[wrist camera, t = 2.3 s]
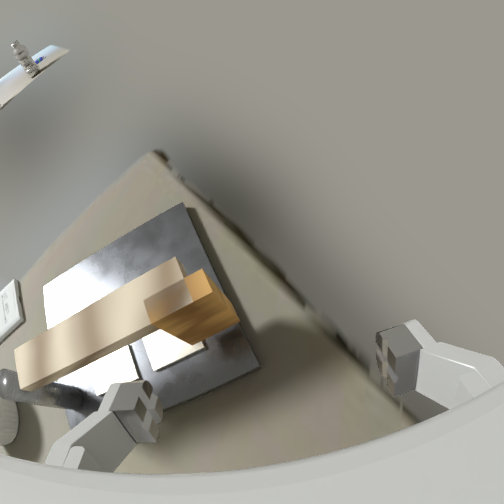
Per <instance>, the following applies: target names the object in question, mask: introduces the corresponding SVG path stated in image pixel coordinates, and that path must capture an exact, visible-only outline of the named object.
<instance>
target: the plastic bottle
mask: <svg viewBox="0 0 504 504" xmlns="http://www.w3.org/2000/svg"><path fill="white" fill-rule="evenodd" d="M11 47H12V49H13V56H14V57H15V58H16V59H17V60H18V61H19V63H20V64H21V65H22V67H23V69H24V70H25V73H26V75H27V76H28V77H30V78H31V77H33V76H35V75H36V74H37V73H38V72H39V70H40V68H39V66H38V65H37V64H36V63H35V62H34V60H33V59H32V58H31V56H30V55H29V53H28V51H27V49H26V47H25V46H24V45H20V44H19V42H18V41H16V42H14V43H13V44H12V45H11Z"/></svg>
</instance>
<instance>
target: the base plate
mask: <svg viewBox="0 0 504 504" xmlns="http://www.w3.org/2000/svg"><path fill="white" fill-rule="evenodd" d="M173 257H176V258H177V259H178V260H179V261H180V262H181V263H182V264H183V266H184V269H185V271H186V274H187V276H189V275H191V274H193V273H194V272H196V271H198V270H200V269H203V270H204V271H205V272H206V274H207V275H208V276H209V277H210V278H211V280H212V281H213V282H214V283H215V284H216V286H217V287H218V288H219V289H220V290H221V291H222V293H223V294H224V295H225V296H226V294H225V292H224V289H223V287H222V285H221V283H220V281H219V279H218V277H217V275H216V272H215V270H214V268H213V266H212V264H211V262H210V259H209V257H208V255H207V253H206V251H205V249H204V246H203V244H202V242H201V240H200V238H199V235H198V233H197V231H196V229H195V227H194V224H193V222H192V220H191V218H190V215H189V213H188V211H187V209H186V207H185V205H184V204H183V202H182V203H180V204H178V205H176V206H174V207H172V208H171V209H169V210H167V211H165V212H164V213H162V214H160V215H158V216H156V217H155V218H153V219H151V220H149V221H148V222H146V223H144V224H143V225H141V226H139V227H137V228H136V229H134V230H132V231H131V232H129V233H127V234H126V235H124V236H122V237H121V238H119V239H117V240H116V241H114V242H112V243H111V244H109V245H107V246H106V247H104V248H103V249H101V250H99V251H98V252H96V253H94V254H93V255H91V256H90V257H88V258H87V259H85V260H83V261H82V262H80V263H79V264H77V265H76V266H74V267H73V268H71V269H69V270H68V271H66V272H65V273H63V274H62V275H60V276H59V277H57V278H56V279H54V280H53V281H51V282H50V283H48V284H47V285H45V286H44V287H43V292H44V301H45V310H46V318H47V325H48V329H49V328H51V327H53V326H54V325H56V324H58V323H59V322H61V321H63V320H64V319H66V318H68V317H69V316H71V315H73V314H75V313H76V312H78V311H80V310H81V309H83V308H85V307H87V306H88V305H90V304H92V303H93V302H95V301H97V300H99V299H100V298H102V297H104V296H106V295H107V294H109V293H111V292H113V291H114V290H116V289H118V288H120V287H121V286H123V285H125V284H127V283H128V282H130V281H132V280H134V279H136V278H137V277H139V276H141V275H143V274H144V273H146V272H148V271H150V270H152V269H153V268H155V267H157V266H159V265H161V264H162V263H164V262H166V261H168V260H170V259H172V258H173ZM226 297H227V296H226ZM259 368H261V365H260V363H259V361H258V359H257V357H256V355H255V353H254V351H253V349H252V347H251V345H250V343H249V341H248V339H247V337H246V335H245V333H244V331H243V329H242V327H241V325H240V323H237V324H235V325H233V326H231V327H229V328H227V329H225V330H223V331H221V332H219V333H217V334H215V335H213V336H211V337H209V338H207V339H205V340H203V341H201V342H199V343H197V344H195V345H193V346H192V345H190V344H188V343H186V342H184V341H182V340H180V339H178V338H177V337H175V336H173V335H171V334H169V333H167V332H165V331H163V330H161V329H160V330H158V331H156V332H154V333H152V334H150V335H148V336H146V337H144V338H142V339H140V340H138V341H136V342H134V343H132V344H130V345H128V346H126V347H124V348H122V349H120V350H118V351H115V352H113V353H111V354H109V355H107V356H105V357H103V358H101V359H99V360H97V361H95V362H93V363H91V364H89V365H87V366H85V367H83V368H81V369H79V370H76V371H74V372H72V373H70V374H68V375H66V376H64V377H62V378H60V379H58V382H54V381H53V382H51V383H49V384H47V385H45V386H43V387H41V388H38V389H36V390H34V391H32V392H30V391H26V390H21V389H20V386H19V380H18V374H17V372H15V371H11V370H8V369H2V370H0V397H1V398H2V399H6V400H11V401H16V402H22V403H28V404H34V405H40V406H47V407H54V408H62V409H65V411H66V415H67V418H68V421H69V425H70V428H71V430H72V429H73V428H74V427H75V426H77V425H78V424H79V423H80V422H82V421H83V420H84V419H86V418H87V417H88V416H89V415H91V414H92V413H93V412H98V409H99V407H100V405H101V403H102V400H103V398H104V396H105V394H106V392H107V389H108V387H109V385H110V384H112V383H118V382H130V381H143V380H147V381H149V382H150V384H151V385H152V387H153V390H152V393H153V394H155V395H156V396H158V398H159V399H160V401H161V404H162V407H163V411H166V410H168V409H171V408H173V407H176V406H178V405H181V404H183V403H185V402H188V401H190V400H192V399H195V398H197V397H199V396H202V395H204V394H206V393H208V392H211V391H213V390H215V389H217V388H219V387H222V386H224V385H226V384H228V383H230V382H232V381H234V380H237V379H239V378H241V377H243V376H245V375H247V374H249V373H251V372H253V371H255V370H257V369H259Z"/></svg>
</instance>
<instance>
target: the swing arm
mask: <svg viewBox="0 0 504 504" xmlns="http://www.w3.org/2000/svg"><path fill="white" fill-rule="evenodd" d="M239 322H240V320H239V318H238V316H237V314H236V311H235V309H234V307H233V305H232V303H231V302H230V301H229V300H228V298H227V297H226V296H225V295H224V294H223V293H222V291H221V290H220V289H219V288H218V287H217V286H216V284H215V283H214V282H213V281H212V280H211V278H210V277H209V276H208V275H207V274H206V272H205V271H204V270H203V269H200V270H198V271H196V272H194V273H193V274H191V275H189V276H187V274H186V271H185V269H184V266H183V264H182V263H181V262H180V261H179V260H178V259H177V258H176V257H173V258H172V259H170V260H168V261H166V262H164V263H162V264H161V265H159V266H157V267H155V268H153V269H152V270H150V271H148V272H146V273H144V274H143V275H141V276H139V277H137V278H136V279H134V280H132V281H130V282H128V283H127V284H125V285H123V286H121V287H120V288H118V289H116V290H114V291H113V292H111V293H109V294H107V295H106V296H104V297H102V298H100V299H99V300H97V301H95V302H93V303H92V304H90V305H88V306H87V307H85V308H83V309H81V310H80V311H78V312H76V313H75V314H73V315H71V316H69V317H68V318H66V319H64V320H63V321H61V322H59V323H58V324H56V325H54V326H53V327H51V328H49V329H48V330H46V331H44V332H43V333H41V334H39V335H38V336H36V337H34V338H33V339H31V340H29V341H28V342H26V343H25V344H23V345H21V346H20V347H18V348H16V349H15V350H14V353H15V361H16V367H17V374H18V380H19V386H20V389H21V390H26V391H30V392H32V391H34V390H36V389H38V388H41V387H43V386H45V385H47V384H49V383H51V382H53V381H56V380H58V379H60V378H62V377H64V376H66V375H68V374H70V373H72V372H74V371H76V370H79V369H81V368H83V367H85V366H87V365H89V364H91V363H93V362H95V361H97V360H99V359H101V358H103V357H105V356H107V355H109V354H111V353H113V352H115V351H118V350H120V349H122V348H124V347H126V346H128V345H130V344H132V343H134V342H136V341H138V340H140V339H142V338H144V337H146V336H148V335H150V334H152V333H154V332H156V331H158V330H160V329H161V330H163V331H165V332H167V333H169V334H171V335H173V336H175V337H177V338H178V339H180V340H182V341H184V342H186V343H188V344H190V345H192V346H193V345H195V344H197V343H199V342H201V341H203V340H205V339H207V338H209V337H211V336H213V335H215V334H217V333H219V332H221V331H223V330H225V329H227V328H229V327H231V326H233V325H235V324H237V323H239Z"/></svg>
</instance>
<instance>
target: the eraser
mask: <svg viewBox="0 0 504 504" xmlns="http://www.w3.org/2000/svg"><path fill="white" fill-rule="evenodd" d="M43 59H44V57H43V56H41V57H40V58H39V59H37V60H36V61H35V63H36V64H38V63H39V62H40V61H42V60H43Z"/></svg>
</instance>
